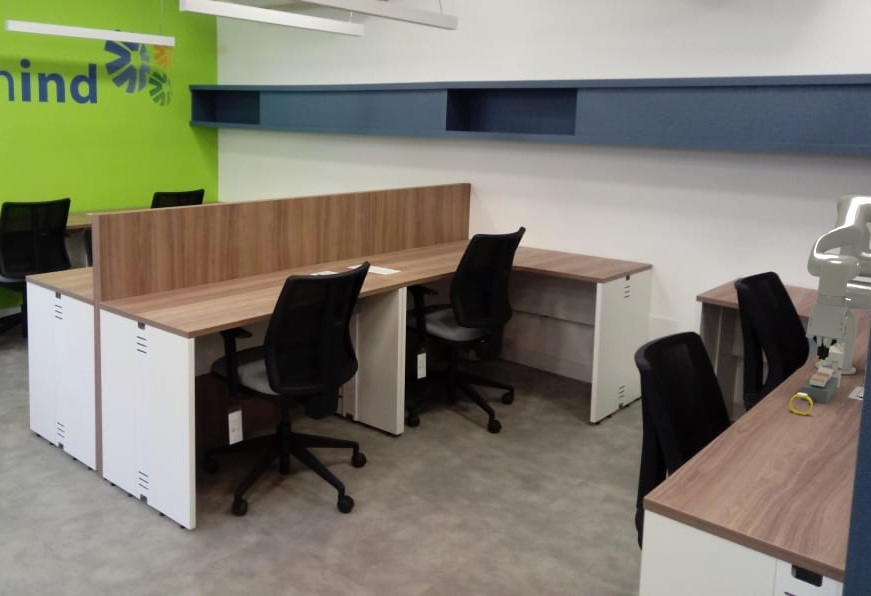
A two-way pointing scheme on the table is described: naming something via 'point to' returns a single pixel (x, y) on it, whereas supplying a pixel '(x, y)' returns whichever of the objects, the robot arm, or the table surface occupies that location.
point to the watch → (802, 397)
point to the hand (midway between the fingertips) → (822, 358)
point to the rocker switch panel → (820, 391)
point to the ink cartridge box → (834, 361)
